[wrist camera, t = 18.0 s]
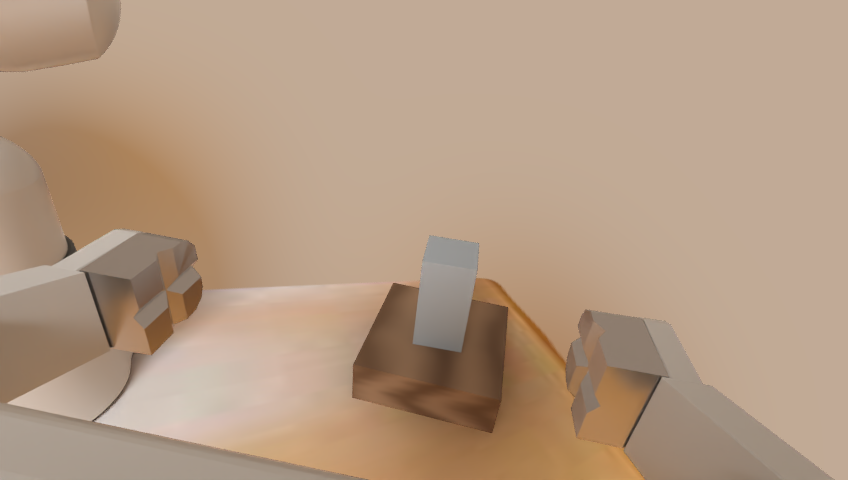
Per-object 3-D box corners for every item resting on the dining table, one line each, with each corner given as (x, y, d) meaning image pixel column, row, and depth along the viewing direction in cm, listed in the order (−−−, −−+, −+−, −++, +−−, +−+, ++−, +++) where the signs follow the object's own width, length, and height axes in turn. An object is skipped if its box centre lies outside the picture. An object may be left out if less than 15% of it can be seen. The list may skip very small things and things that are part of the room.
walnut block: (352, 400, 44) (353, 364, 41) (390, 314, 56) (393, 282, 53) (491, 436, 42) (501, 400, 39) (500, 339, 54) (508, 307, 51)
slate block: (461, 352, 44) (477, 270, 39) (412, 343, 44) (422, 261, 39) (464, 320, 48) (479, 243, 43) (419, 313, 49) (429, 235, 44)
